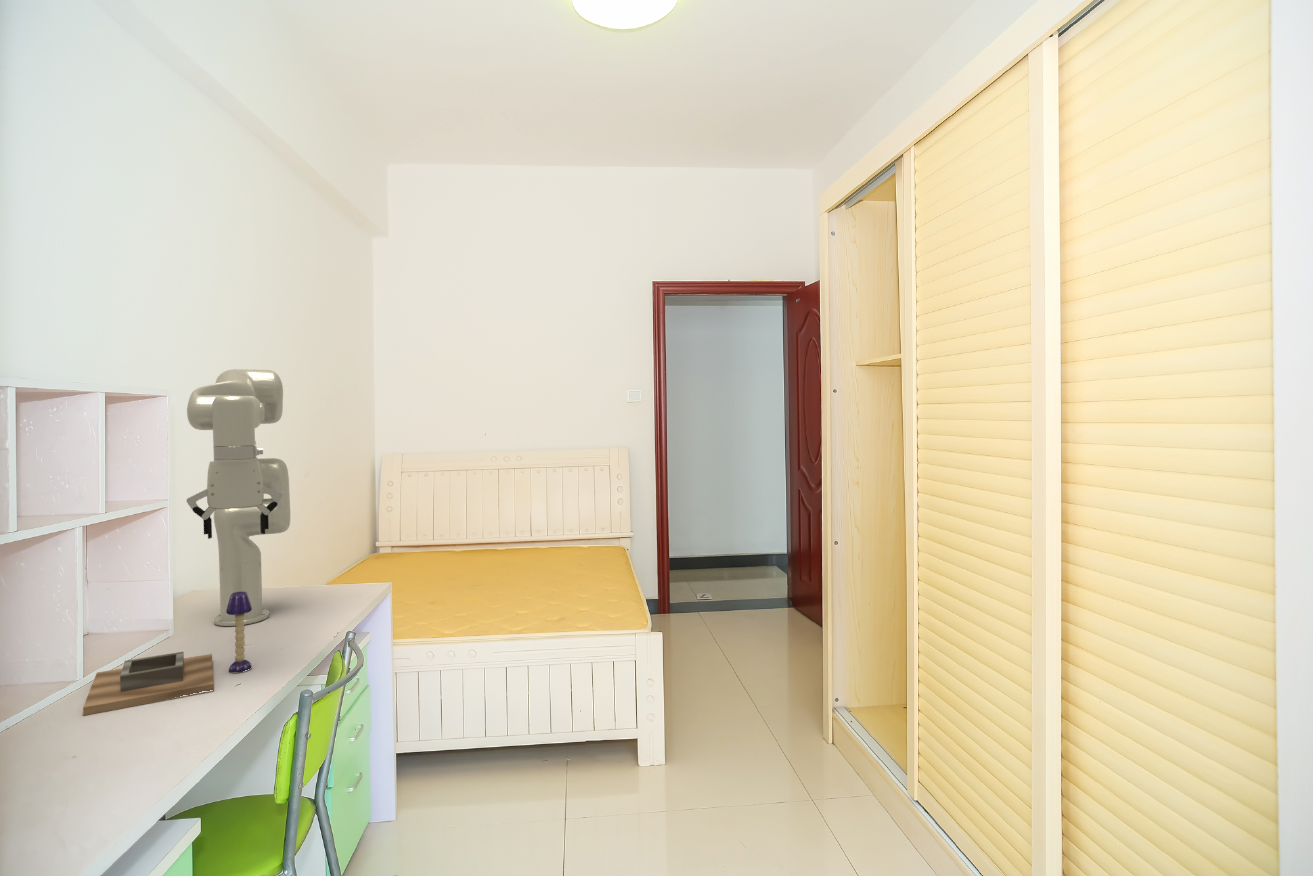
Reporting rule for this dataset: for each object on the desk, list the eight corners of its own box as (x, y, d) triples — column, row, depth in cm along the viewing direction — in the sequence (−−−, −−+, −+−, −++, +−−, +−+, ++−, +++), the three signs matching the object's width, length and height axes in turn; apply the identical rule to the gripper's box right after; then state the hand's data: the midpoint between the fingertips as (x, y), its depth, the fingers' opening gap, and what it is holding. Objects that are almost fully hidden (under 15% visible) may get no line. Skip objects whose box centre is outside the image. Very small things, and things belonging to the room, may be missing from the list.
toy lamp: (258, 667, 151) (256, 591, 150) (239, 675, 146) (237, 596, 145) (241, 665, 152) (239, 589, 151) (222, 672, 148) (220, 594, 147)
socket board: (97, 679, 144) (96, 658, 144) (212, 660, 155) (211, 640, 155) (83, 715, 127) (82, 691, 127) (213, 691, 138) (212, 668, 138)
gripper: (279, 452, 155) (281, 529, 156) (185, 455, 145) (187, 536, 146) (282, 453, 149) (284, 533, 149) (184, 457, 139) (187, 542, 140)
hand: (236, 535), depth 148 cm, fingers open, 9 cm apart
